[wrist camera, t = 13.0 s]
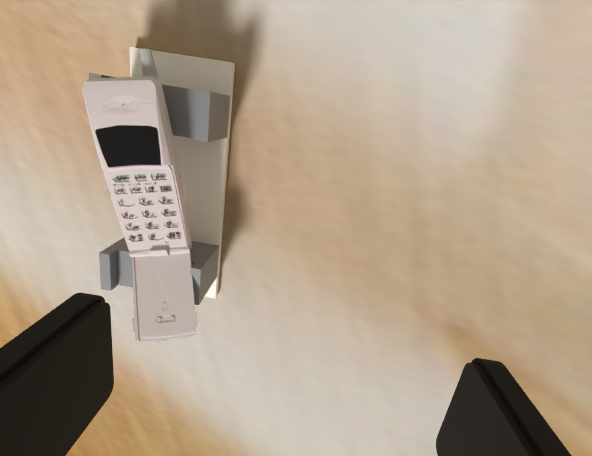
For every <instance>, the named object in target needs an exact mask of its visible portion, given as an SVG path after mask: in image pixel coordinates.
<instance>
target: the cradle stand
mask: <svg viewBox="0 0 592 456" xmlns="http://www.w3.org/2000/svg"><path fill="white" fill-rule="evenodd" d="M140 49H141V48H134V47H130V77H143V73H142V65H141V57H140ZM151 52H152V56H153V60H154V63H155V67H156V71H157V74H158V77H159V82H160V83H161V85H162V88H163V92H164V97H165V102H166V106H167V110H168V115H169V120H170V125H171V129H172V134H173V138H174V143H175V148H176V152H177V157H178V162H179V168H180V173H181V179H182V185H183V190H184V196H185V202H186V209H187V215H188V222H189V230H190V237H191V244H192V247H191V249H190V258H191V269H190V276H191V274H192V281H193V292H194V304H195V305H199V304H200V303H201V301H202V299H203V298H204V297H209V298H216V297H217V295H218V286H219V273H220V259H221V246H222V233H223V219H224V206H225V193H226V179H227V166H228V153H229V139H230V126H231V113H232V99H233V86H234V73H235V64H234V63H233V62H227V61H220V60H214V59H207V58H200V57H194V56H187V55H180V54H174V53H167V52H161V51H154V50H151ZM93 78H116V77H110V76H104V75H99V74H92V73H89V79H93ZM99 258H100V275H101V289H104V290H110V291H111V290H112V289H114V288H115V287H116V286H117V285H122V286H128V287H133V266H132V257H130V255H129V249H128V246H127V243H126V240H125V237H124V238H122V239H121V240H119V241H118V242H116V243H114V244H113V245H111V246H110V247H108V248H106V249H105V250H103V251H102V252H100V253H99Z"/></svg>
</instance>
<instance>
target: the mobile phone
mask: <svg viewBox="0 0 592 456" xmlns="http://www.w3.org/2000/svg"><path fill="white" fill-rule="evenodd" d="M140 57H141V65H142V73H143V77H122V78H93V79H89V80H87V81H86V82H85V83H84V84H83V88H82V91H83V95H84V100H85V105H86V109H87V114H88V118H89V122H90V126H91V130H92V134H93V138H94V142H95V146H96V149H97V153H98V157H99V160H100V164H101V168H102V169H103V172H104V176H105V179H106V182H107V186H108V189H109V192H110V196H111V199H112V202H113V205H114V208H115V211H116V214H117V217H118V220H119V222H120V225H121V228H122V231H123V234H124V237H125V240H126V243H127V246H128V249H129V255H130V257H132V266H133V293H134V318H133V331H134V332H135V336H136V341H161V340H171V339H179V338H185V337H191V336H196V326H197V314H196V313H195V304H194V292H193V281H192V274H191V276H190V269H191V258H190V249H191V247H192V244H191V237H190V230H189V222H188V215H187V209H186V202H185V196H184V190H183V185H182V179H181V173H180V168H179V162H178V157H177V152H176V148H175V143H174V138H173V134H172V129H171V125H170V120H169V115H168V110H167V106H166V102H165V97H164V92H163V88H162V85H161V83H160V82H159V77H158V74H157V71H156V67H155V63H154V60H153V56H152V52H151V49H140Z"/></svg>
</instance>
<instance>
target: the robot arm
mask: <svg viewBox="0 0 592 456" xmlns="http://www.w3.org/2000/svg"><path fill="white" fill-rule="evenodd" d="M113 385H114V377H113V357H112V336H111V316H110V305H109V304H108V303H105V300H104V298H103V297H102V296H98V295H92V294H85V293H76V294H75V295H73V296H72V297H70V298H69V299H67V300H66V301H65V302H63V303H62V304H61V305H59V306H58V307H56V308H55V309H54V310H52V311H51V312H50V313H48V314H47V315H45V316H44V317H43V318H41V319H40V320H39V321H37V322H36V323H34V324H33V325H32V326H30V327H29V328H28V329H26V330H25V331H23V332H22V333H21V334H19V335H18V336H17V337H15V338H14V339H12V340H11V341H10V342H8V343H7V344H6V345H4V346H3V347H1V348H0V456H65V455H66V454H67V453H68V451H69V450H70V449H71V447H72V446H73V445H74V443H75V442H76V441H77V439H78V438H79V437H80V435H81V434H82V433H83V431H84V430H85V429H86V427H87V426H88V425H89V423H90V422H91V421H92V419H93V418H94V417H95V415H96V414H97V413H98V411H99V410H100V409H101V407H102V406H103V405H104V403H105V402H106V401H107V399H108V398H109V396H110V394H111V392H112V389H113ZM436 449H437V454H438V456H571V454H570V453H569V452H568V450H567V449H566V448H565V446H564V445H563V444H562V442H561V441H560V440H559V438H558V437H557V436H556V434H555V433H554V432H553V430H552V429H551V427H550V426H549V425H548V423H547V422H546V421H545V419H544V418H543V417H542V415H541V414H540V413H539V411H538V410H537V409H536V407H535V406H534V405H533V403H532V402H531V400H530V399H529V398H528V396H527V395H526V394H525V392H524V391H523V390H522V388H521V387H520V386H519V384H518V383H517V382H516V380H515V379H514V378H513V376H512V375H511V374H510V372H509V371H508V369H507V368H506V367H505V366H504V365H503V364H502V363H501V362H499V361H493V360H487V359H481V358H475V359H474V360H473V361H472V362H471V363H467V364H466V365H465V367H464V369H463V372H462V374H461V377H460V380H459V382H458V385H457V387H456V390H455V392H454V395H453V397H452V400H451V403H450V405H449V408H448V410H447V413H446V415H445V418H444V421H443V423H442V426H441V428H440V431H439V433H438V436H437V439H436Z"/></svg>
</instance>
